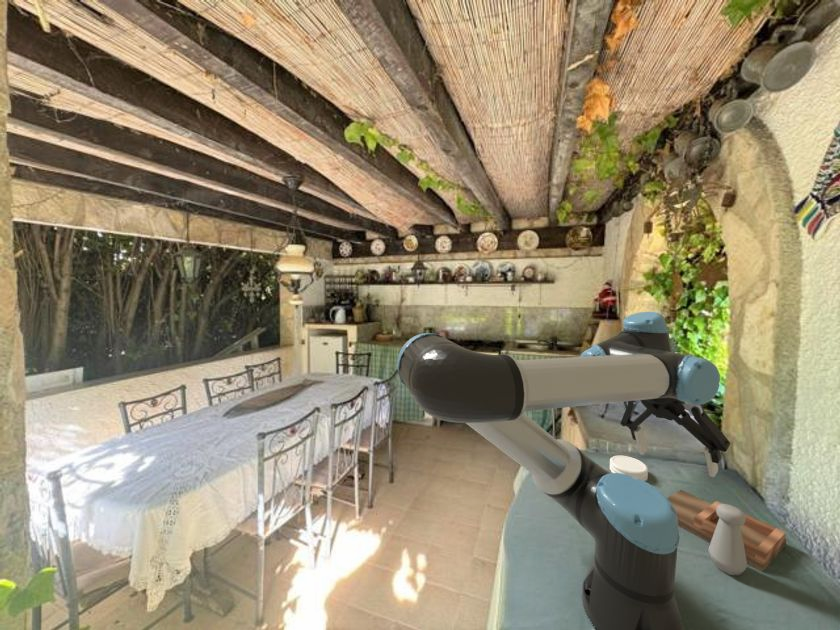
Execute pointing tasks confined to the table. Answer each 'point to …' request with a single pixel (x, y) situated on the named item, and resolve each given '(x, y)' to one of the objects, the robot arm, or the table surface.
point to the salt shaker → (728, 541)
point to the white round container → (629, 467)
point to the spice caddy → (757, 535)
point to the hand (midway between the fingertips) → (676, 461)
